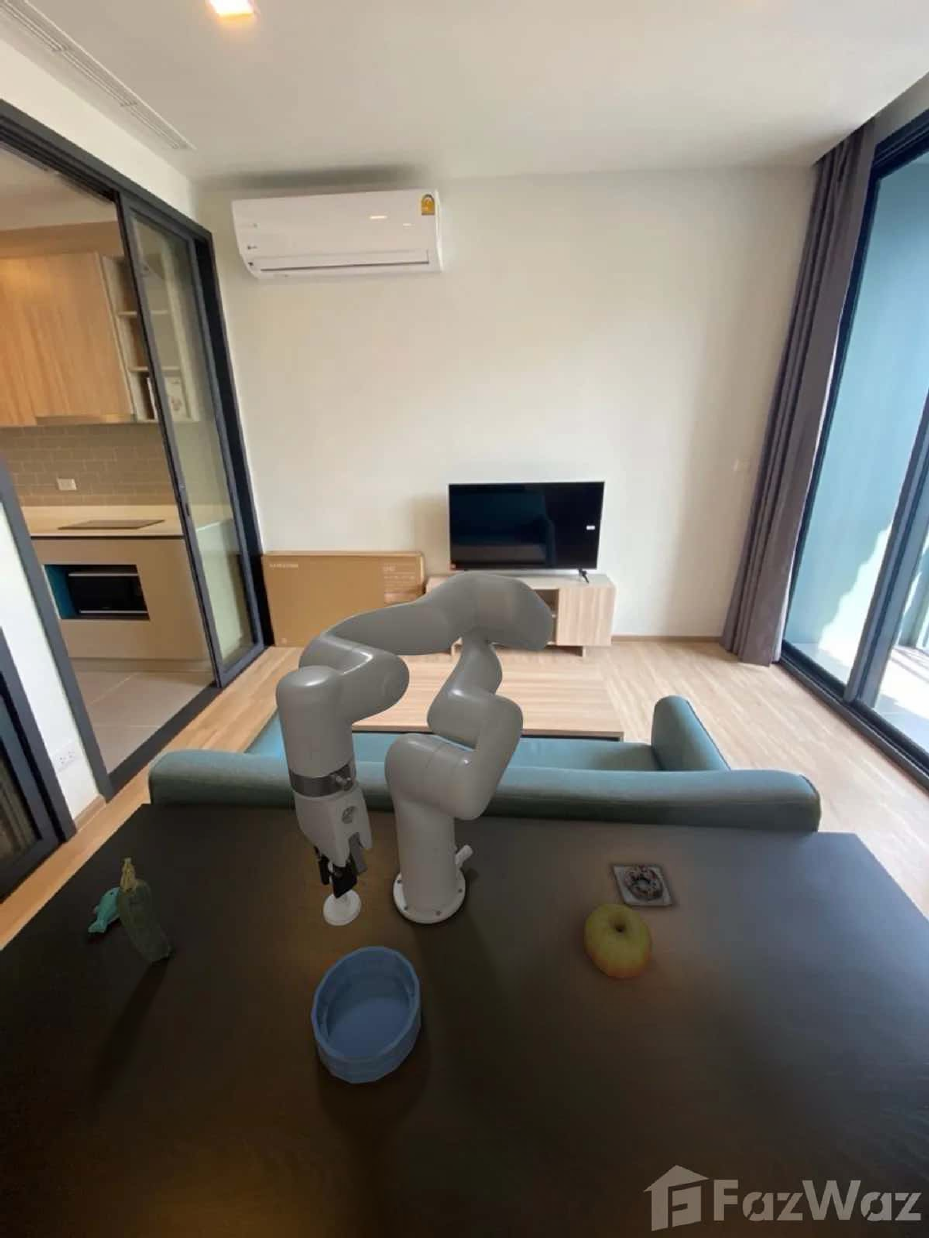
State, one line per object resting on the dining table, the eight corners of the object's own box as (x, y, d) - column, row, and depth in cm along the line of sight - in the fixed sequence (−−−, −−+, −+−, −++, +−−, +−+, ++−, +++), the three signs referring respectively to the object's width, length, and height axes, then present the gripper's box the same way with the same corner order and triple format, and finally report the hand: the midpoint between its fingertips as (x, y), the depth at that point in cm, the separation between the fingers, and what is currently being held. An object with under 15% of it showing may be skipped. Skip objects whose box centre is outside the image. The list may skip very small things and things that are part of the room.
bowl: (376, 949, 78) (373, 927, 76) (442, 1014, 69) (440, 991, 68) (296, 1028, 68) (290, 1005, 66) (361, 1115, 60) (357, 1091, 58)
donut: (623, 905, 84) (625, 896, 84) (612, 866, 92) (613, 858, 91) (673, 906, 84) (675, 897, 83) (658, 867, 91) (660, 859, 90)
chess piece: (368, 898, 68) (361, 842, 64) (347, 930, 64) (339, 872, 60) (337, 887, 70) (329, 832, 66) (315, 918, 65) (305, 861, 62)
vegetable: (158, 978, 75) (120, 881, 67) (133, 972, 76) (93, 876, 68) (179, 949, 79) (146, 855, 71) (155, 944, 80) (120, 850, 72)
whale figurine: (143, 897, 88) (137, 881, 86) (113, 937, 81) (106, 921, 79) (112, 896, 88) (105, 880, 87) (79, 936, 81) (72, 919, 80)
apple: (639, 1004, 70) (645, 967, 67) (573, 968, 75) (576, 931, 72) (655, 946, 78) (661, 910, 75) (594, 916, 83) (598, 881, 80)
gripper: (391, 783, 56) (401, 901, 62) (314, 729, 66) (330, 835, 73) (333, 820, 51) (351, 944, 57) (260, 755, 61) (282, 867, 68)
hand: (339, 883), depth 65 cm, fingers closed on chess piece
